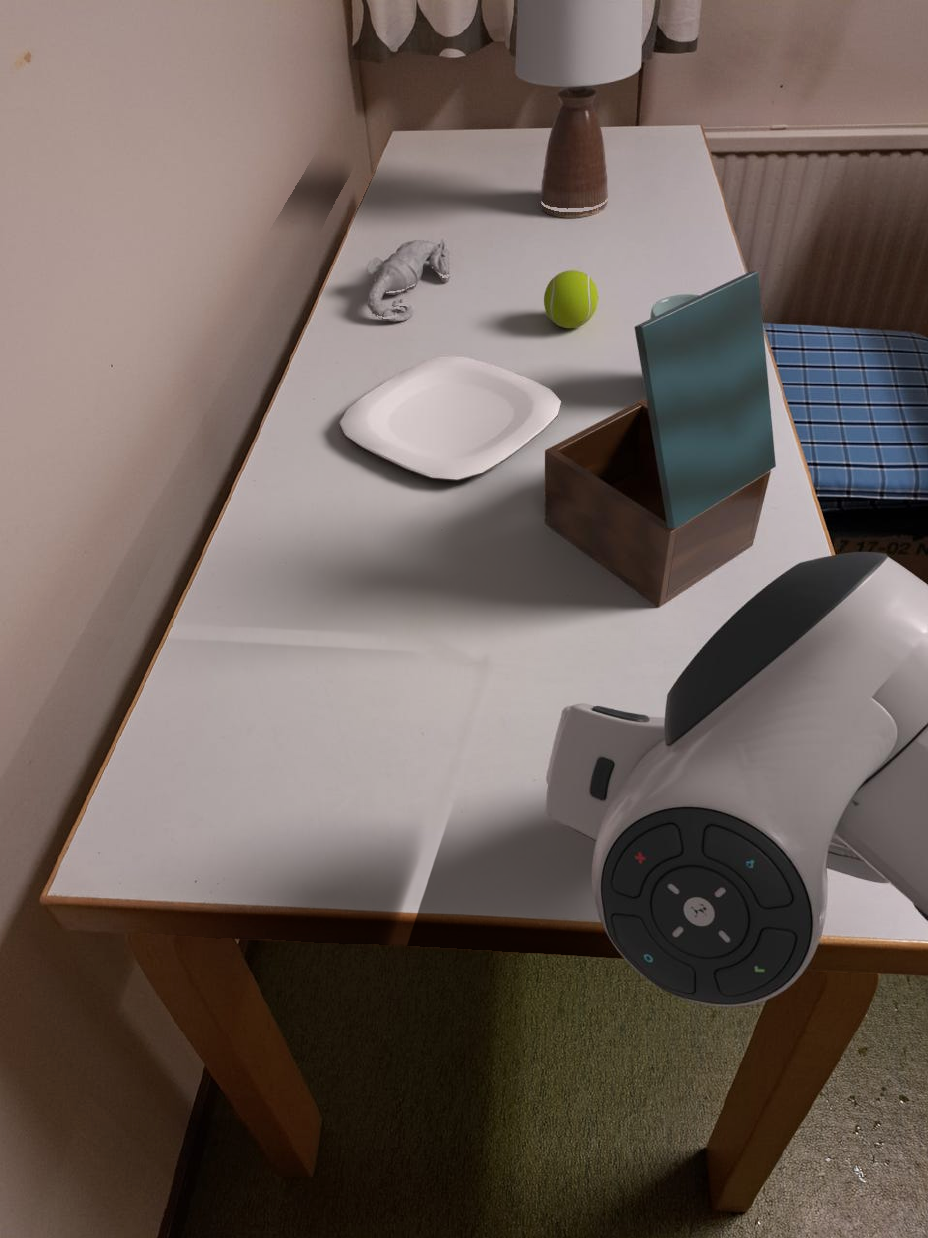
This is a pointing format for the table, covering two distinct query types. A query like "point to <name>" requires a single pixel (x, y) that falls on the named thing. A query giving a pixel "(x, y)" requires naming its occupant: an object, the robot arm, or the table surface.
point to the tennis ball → (571, 299)
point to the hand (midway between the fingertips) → (723, 764)
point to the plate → (450, 417)
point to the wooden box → (640, 509)
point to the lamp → (577, 86)
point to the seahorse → (404, 274)
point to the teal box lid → (708, 396)
